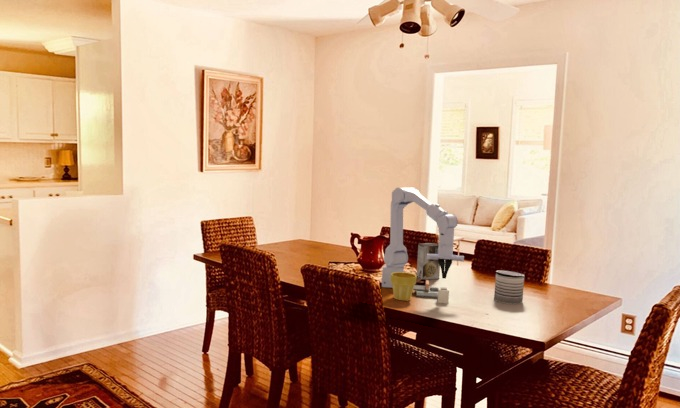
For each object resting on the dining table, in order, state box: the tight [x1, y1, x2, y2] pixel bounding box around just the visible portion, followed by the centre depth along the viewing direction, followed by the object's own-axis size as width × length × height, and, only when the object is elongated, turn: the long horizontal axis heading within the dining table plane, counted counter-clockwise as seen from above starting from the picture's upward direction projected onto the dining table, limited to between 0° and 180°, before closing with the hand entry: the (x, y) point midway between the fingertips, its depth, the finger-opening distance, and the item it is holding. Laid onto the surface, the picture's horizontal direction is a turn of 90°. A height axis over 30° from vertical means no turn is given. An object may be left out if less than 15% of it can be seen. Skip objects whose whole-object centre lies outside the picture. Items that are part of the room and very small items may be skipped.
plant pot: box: [391, 271, 418, 301], centre depth 226 cm, size 10×10×10 cm
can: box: [493, 269, 525, 305], centre depth 230 cm, size 11×11×12 cm
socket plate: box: [415, 285, 442, 299], centre depth 235 cm, size 12×11×2 cm
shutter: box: [413, 279, 430, 291], centre depth 235 cm, size 6×6×3 cm
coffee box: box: [416, 242, 441, 280], centre depth 264 cm, size 9×6×16 cm
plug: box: [437, 286, 450, 304], centre depth 224 cm, size 4×4×6 cm
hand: (444, 277), depth 224 cm, fingers closed
